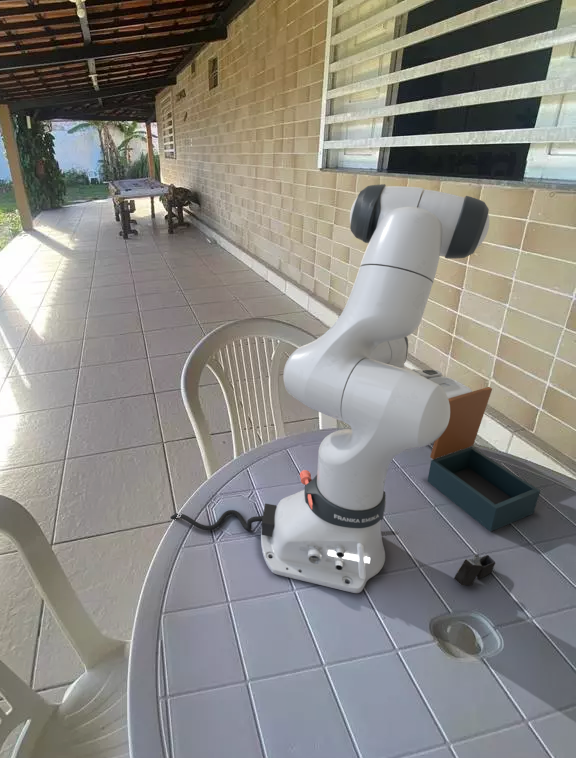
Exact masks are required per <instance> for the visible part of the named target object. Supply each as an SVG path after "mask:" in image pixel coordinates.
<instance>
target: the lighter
mask: <svg viewBox="0 0 576 758" xmlns="http://www.w3.org/2000/svg"><path fill="white" fill-rule="evenodd" d="M495 564H496V561H495V560H494V559H493V558H492V557H491V555H489V554H486V555H484V556H482V557H481V556H480V555H479V554H477V553H475V554H474V555H473V556H472V557H471V558H466V559H464V560H463V562H462V564H461V566H460V567H459V568H458V569H457V572H456V574H455V576H454V577H453V580H455V581H456V582H457V583H458V584H459V585H461V586H472V585H473V583H474V582H475V580H476V579H477V578H478V579H482V578H484V577H487V576H489V575H490V574H491V573H492V572H493V571H494V567H495Z"/></svg>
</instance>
